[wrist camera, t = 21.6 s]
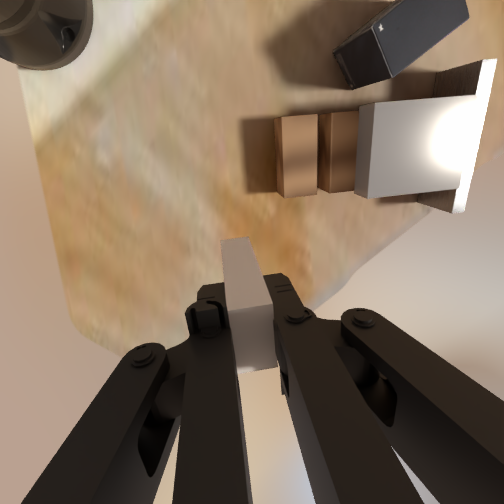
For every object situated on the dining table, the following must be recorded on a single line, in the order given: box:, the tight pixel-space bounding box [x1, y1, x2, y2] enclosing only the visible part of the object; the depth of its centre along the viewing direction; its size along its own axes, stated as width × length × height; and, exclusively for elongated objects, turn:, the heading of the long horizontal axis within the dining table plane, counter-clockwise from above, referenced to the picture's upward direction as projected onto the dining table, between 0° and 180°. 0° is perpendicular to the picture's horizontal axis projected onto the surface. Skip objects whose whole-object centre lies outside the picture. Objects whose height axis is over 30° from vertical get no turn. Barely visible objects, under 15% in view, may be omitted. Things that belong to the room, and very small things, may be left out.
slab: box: [354, 95, 478, 199], centre depth 40 cm, size 12×14×4 cm
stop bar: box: [417, 59, 497, 213], centre depth 43 cm, size 20×2×8 cm, turn 5°
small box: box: [333, 0, 469, 90], centre depth 36 cm, size 11×6×10 cm, turn 126°
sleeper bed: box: [274, 111, 359, 198], centre depth 43 cm, size 11×19×5 cm, turn 95°
